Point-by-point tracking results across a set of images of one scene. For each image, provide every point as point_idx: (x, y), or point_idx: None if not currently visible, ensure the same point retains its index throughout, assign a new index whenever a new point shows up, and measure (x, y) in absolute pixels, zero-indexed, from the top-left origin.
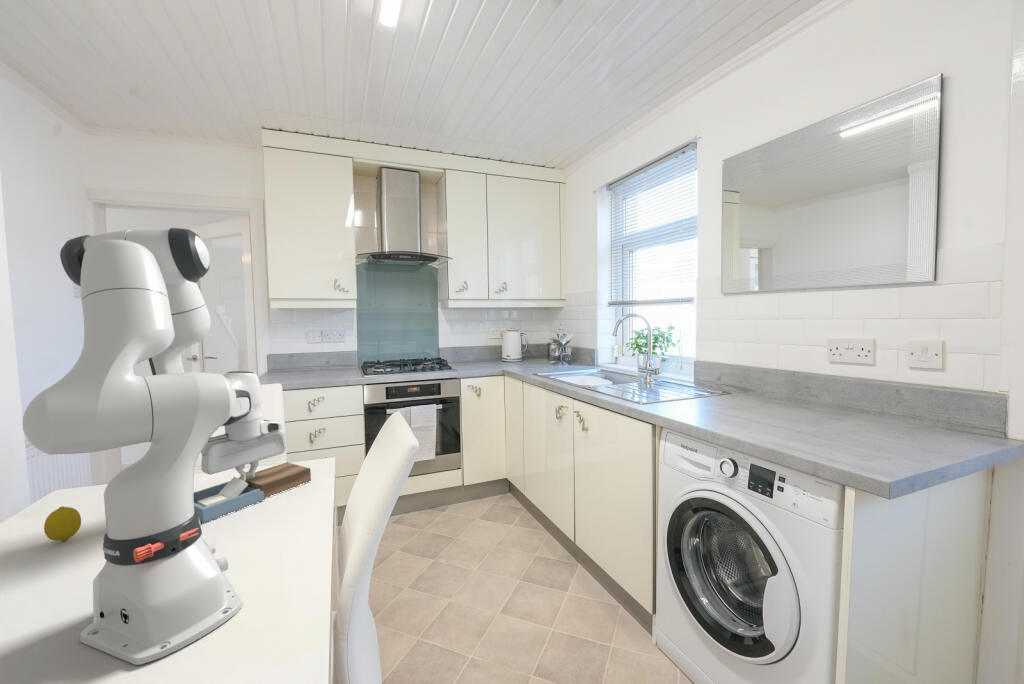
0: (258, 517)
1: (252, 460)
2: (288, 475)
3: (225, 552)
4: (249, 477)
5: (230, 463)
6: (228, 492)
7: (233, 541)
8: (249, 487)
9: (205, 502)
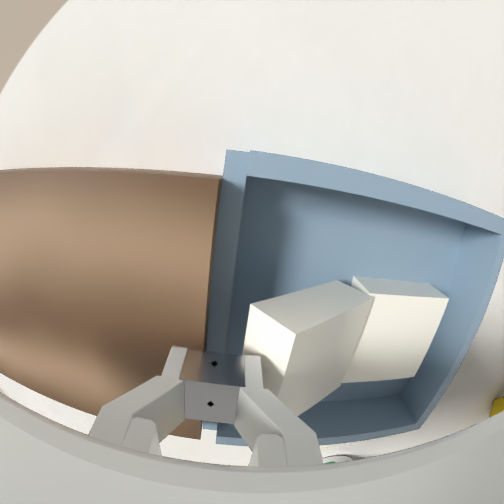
0: (369, 26)
1: (161, 476)
2: (23, 186)
3: (488, 6)
4: (214, 357)
5: (455, 482)
6: (353, 331)
7: (470, 13)
8: (216, 323)
9: (426, 334)
